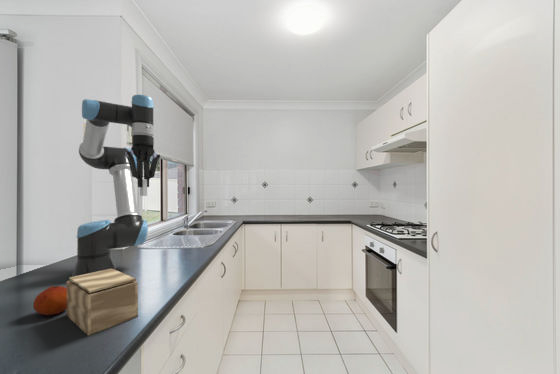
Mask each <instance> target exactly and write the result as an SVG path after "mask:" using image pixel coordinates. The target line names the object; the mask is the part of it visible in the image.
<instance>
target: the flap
mask: <svg viewBox="0 0 560 374" xmlns="http://www.w3.org/2000/svg"><path fill="white" fill-rule="evenodd" d="M68 281H72V282H74V283H75V284H77V285H78V286H80V287H81V288H83V289H84V290H86V291H87V292H89V293H92V292H95V291H99V290H103V289H107V288H110V287H114V286H118V285H122V284H126V283H129V282H133V281H137V279H136V278H135V277H132V276H130V275H128V274H126V273H123V272H121V271H119V270H117V269H115V270H114V269H107V270H102V271H98V272H93V273H88V274H84V275H79V276H74V277H72V276H71V277H69V279H68Z"/></svg>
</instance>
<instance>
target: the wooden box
mask: <svg viewBox="0 0 560 374" xmlns="http://www.w3.org/2000/svg"><path fill="white" fill-rule="evenodd" d="M138 285H139V283H138V281H137V280H136V281H133V282H129V283H126V284H122V285H118V286H114V287H110V288H107V289H103V290H99V291H95V292H92V293H89V292H87V291H86V290H84V289H83V288H81V287H80V286H78V285H77V284H75V283H74V282H72V281H71V280H67V281H66V288H67V309H66V317H67V318H69V319H70V320H71V321H72V322H73V323H74V324H75V325H76V326H77V327H78V328H79V329H80V330H81V331H82V332H83V333H84V334H86V335H87V336H88V337H89V336H91V335H94V334H97V333H99V332H102V331H105V330H107V329H109V328H112V327H115V326H118V325H121V324H123V323H125V322H128V321H131V320H133V319H136V318H139V312H138V311H139V303H138V302H139V300H138V299H139V294H138V291H139V290H138V289H139V287H138Z"/></svg>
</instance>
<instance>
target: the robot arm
mask: <svg viewBox="0 0 560 374" xmlns="http://www.w3.org/2000/svg"><path fill="white" fill-rule="evenodd" d="M130 104H131V106H129V105H125V104H116V103H113V102H106V101H101V100H97V99H88V98H86V99H85V98H84V99H83V100H82V102H81V116H82V119H84V120H86V122H85V129H84V134H83V140H82V142H81V143H80V144H79V147H78V154H79V157H80V158H81V160H82V161H83V162H84V163H85V164H87V165H89V166H90V167H91V168H94V169H98V170H108V173H109V175H111V176H112V179H113V187H114V196H115V197H114V199H115V206H116V214H117V215H116V217H115V218H114V220H113V222H111V220H110V219H103V220H96V221H91V222H86V223H83V224H80V225H79V226H78V227H77V235H76V239H77V241H76V242H77V248H76V249H77V250H76V251H77V252H76V253H77V254H76V255H77V260H76V263H75V265H74V269H73V271H72V273H71V277H74V276H79V275H84V274H88V273H93V272H98V271H102V270H107V269H114V270H116V266H115V264H114V261H113V259H112V256H111V250H115V249H123V248H129V247H130V248H131V247H134V248H135V247H136V246H141V245H144V244H145V242H146V240H147V237H148V231H149V230H148V229H149V227H148V225H149V224H148V221H147V219H143V216H142V215H141V214H139V213H138V204H137V198H136V191H135V183H134V178H135V179H137V188H139V196H140V197H146V196H148V188H150V179H153V178H155V175H156V172H157V171H156V170H157V166H158V161H159V160H160V158H161V155H160V154H158V153H156V151H155V149H154V146H155V144H154V143H155V142H154V141H155V139H154V137H153V136H154V133H155V132H154V108H155V107H154V99H153V98H152V97H151V96H148V95H146V94H145V95H144V94H134V95H132V97H131V103H130ZM110 123H113V124H120V125H127V126H129V127H130V128H131V134H132V137H131V145H132V146H131V148H128V147H114V146H113V147H112V146H104V143H105V140H106V135H107V132H108V129H109V125H110ZM151 158H152V159H151ZM150 162H151V163H150Z"/></svg>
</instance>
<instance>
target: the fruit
mask: <svg viewBox="0 0 560 374" xmlns="http://www.w3.org/2000/svg"><path fill="white" fill-rule="evenodd" d="M33 309H34V311H35V312H36V313H38V314H40V315H43V316H54V315H58V314H61V313H63V312H64V311H65V310H67V286H66V287H65V286H61V285H52V286H49V287H47V288H46V289H44V290H43V291H41V292H39V294H38V295H36V297H35V299H34V301H33Z"/></svg>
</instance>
